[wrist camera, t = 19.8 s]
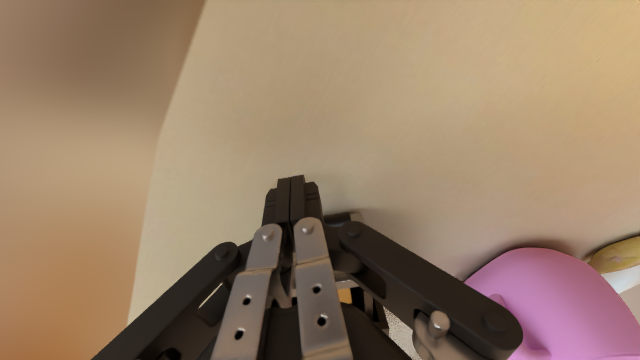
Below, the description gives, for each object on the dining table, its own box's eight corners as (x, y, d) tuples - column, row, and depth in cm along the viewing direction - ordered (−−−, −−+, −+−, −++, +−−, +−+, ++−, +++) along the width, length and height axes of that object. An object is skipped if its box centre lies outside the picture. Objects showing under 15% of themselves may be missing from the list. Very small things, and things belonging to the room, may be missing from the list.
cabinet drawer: (249, 194, 22) (233, 261, 16) (358, 175, 22) (381, 236, 16) (291, 293, 33) (291, 354, 27) (365, 280, 33) (380, 340, 27)
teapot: (495, 219, 29) (639, 371, 17) (592, 251, 35) (747, 378, 23) (391, 308, 41) (433, 437, 29) (478, 321, 47) (542, 430, 35)
